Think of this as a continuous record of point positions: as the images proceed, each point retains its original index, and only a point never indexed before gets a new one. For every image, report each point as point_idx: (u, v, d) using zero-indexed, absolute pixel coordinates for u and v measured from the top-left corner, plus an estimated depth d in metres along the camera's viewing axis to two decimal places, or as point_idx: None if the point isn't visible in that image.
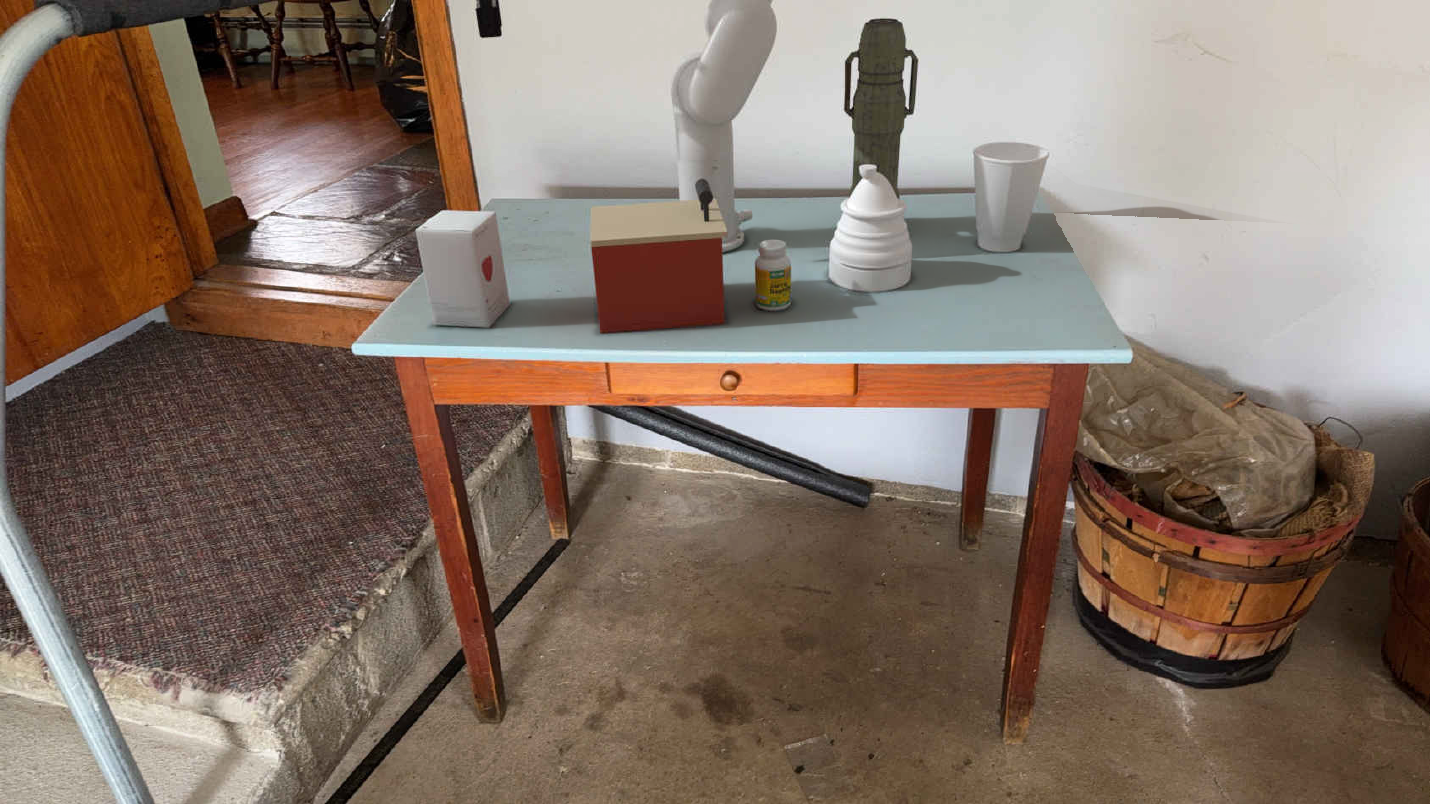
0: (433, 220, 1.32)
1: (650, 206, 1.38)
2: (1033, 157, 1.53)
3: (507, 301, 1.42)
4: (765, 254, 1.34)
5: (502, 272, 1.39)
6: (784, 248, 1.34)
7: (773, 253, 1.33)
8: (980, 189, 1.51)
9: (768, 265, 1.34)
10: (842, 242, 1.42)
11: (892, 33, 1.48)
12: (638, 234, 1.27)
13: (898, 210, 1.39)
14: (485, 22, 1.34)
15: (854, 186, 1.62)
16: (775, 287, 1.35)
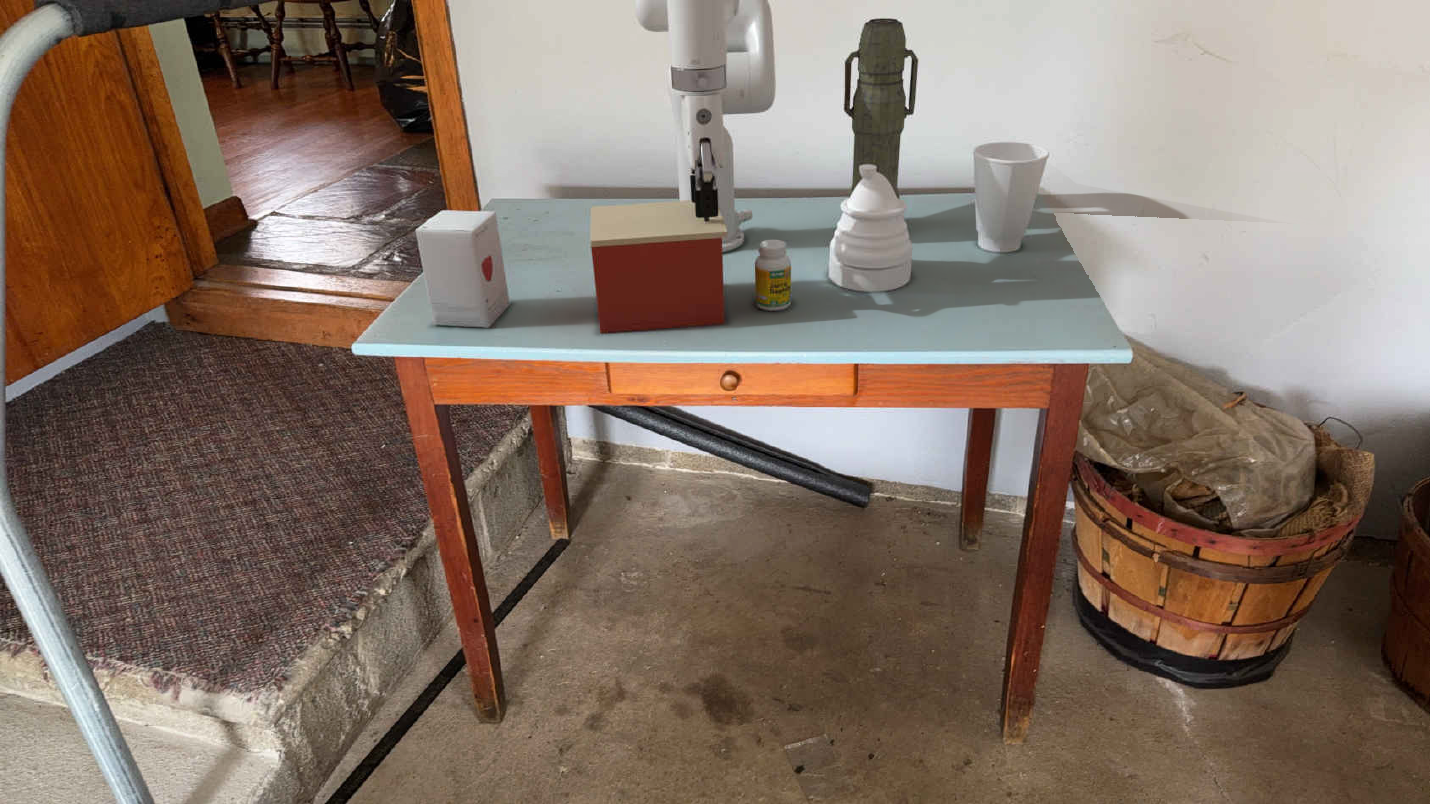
0: (433, 220, 1.32)
1: (650, 206, 1.38)
2: (1033, 157, 1.53)
3: (507, 301, 1.42)
4: (765, 254, 1.34)
5: (502, 272, 1.39)
6: (784, 248, 1.34)
7: (773, 253, 1.33)
8: (980, 189, 1.51)
9: (768, 265, 1.34)
10: (842, 242, 1.42)
11: (892, 33, 1.48)
12: (638, 234, 1.27)
13: (898, 210, 1.39)
14: (704, 204, 1.28)
15: (854, 186, 1.62)
16: (775, 287, 1.35)
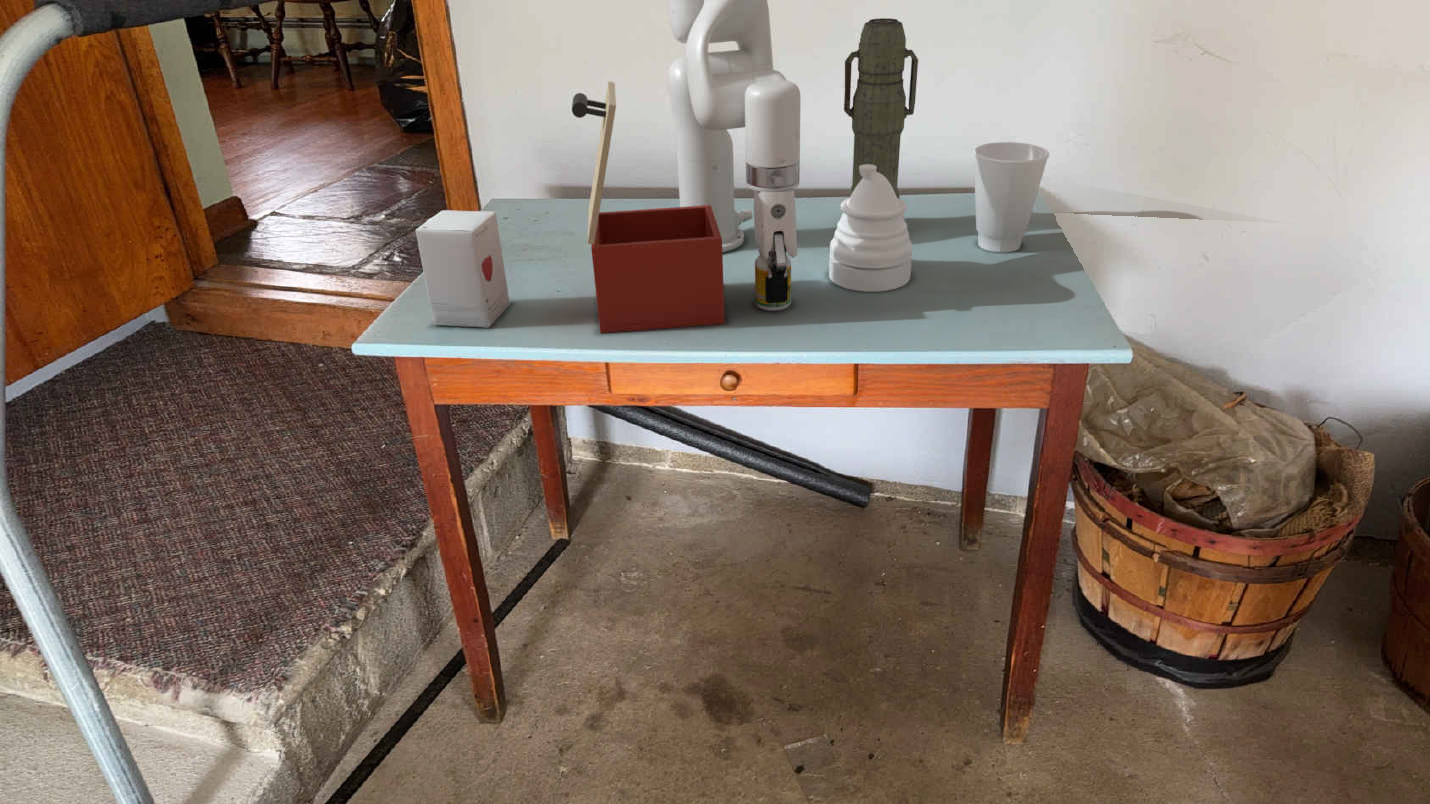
0: (433, 220, 1.32)
1: (597, 154, 1.33)
2: (1033, 157, 1.53)
3: (508, 301, 1.42)
4: None
5: (502, 272, 1.39)
6: None
7: (773, 253, 1.33)
8: (980, 189, 1.51)
9: None
10: (842, 242, 1.42)
11: (892, 33, 1.48)
12: (594, 194, 1.24)
13: (898, 210, 1.39)
14: (774, 291, 1.34)
15: (854, 186, 1.62)
16: None
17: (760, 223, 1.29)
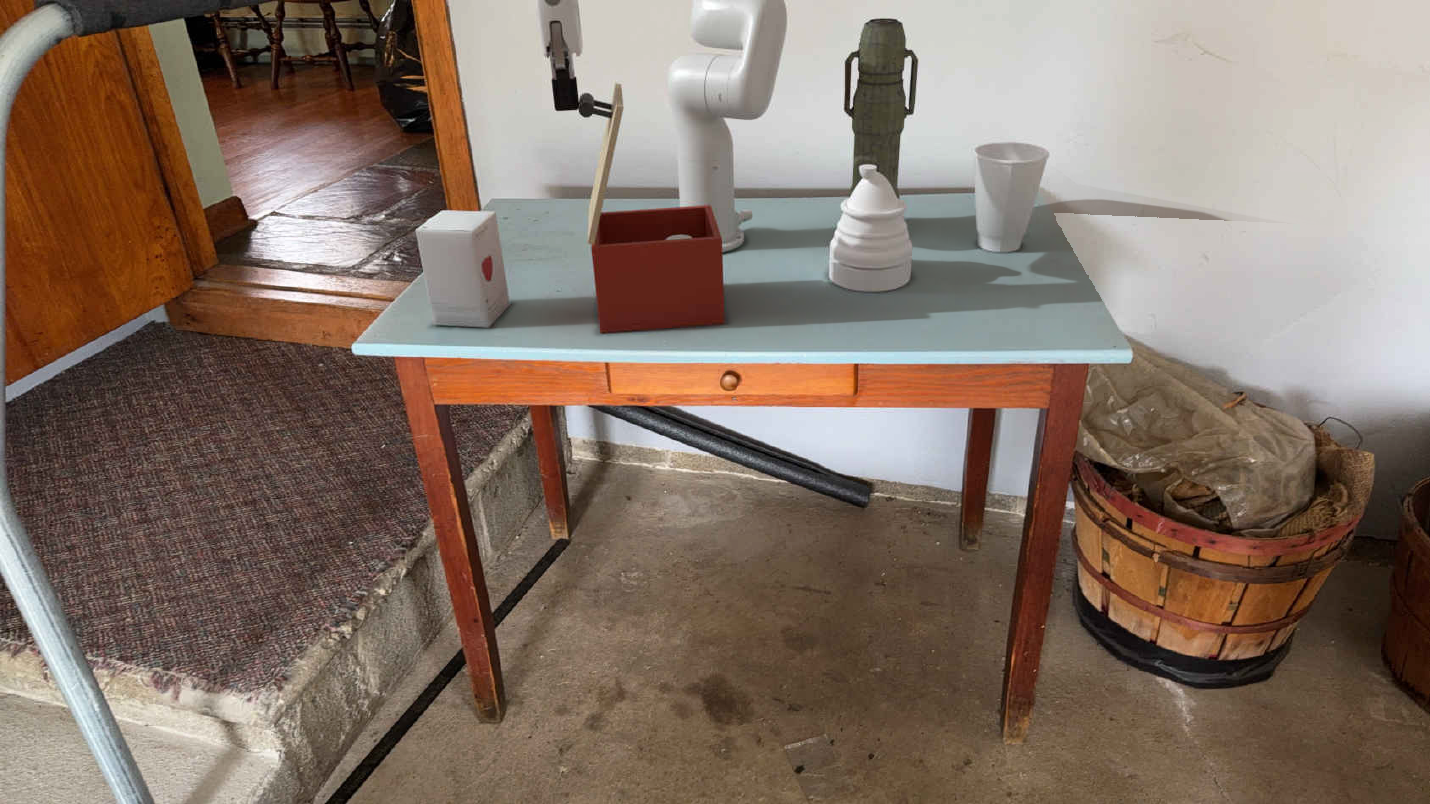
0: (433, 220, 1.32)
1: (600, 155, 1.33)
2: (1033, 157, 1.53)
3: (508, 301, 1.42)
4: None
5: (502, 272, 1.39)
6: None
7: None
8: (980, 189, 1.51)
9: None
10: (842, 242, 1.42)
11: (892, 33, 1.48)
12: (597, 194, 1.24)
13: (898, 210, 1.39)
14: (561, 95, 1.22)
15: (854, 186, 1.62)
16: None
17: (536, 14, 1.15)
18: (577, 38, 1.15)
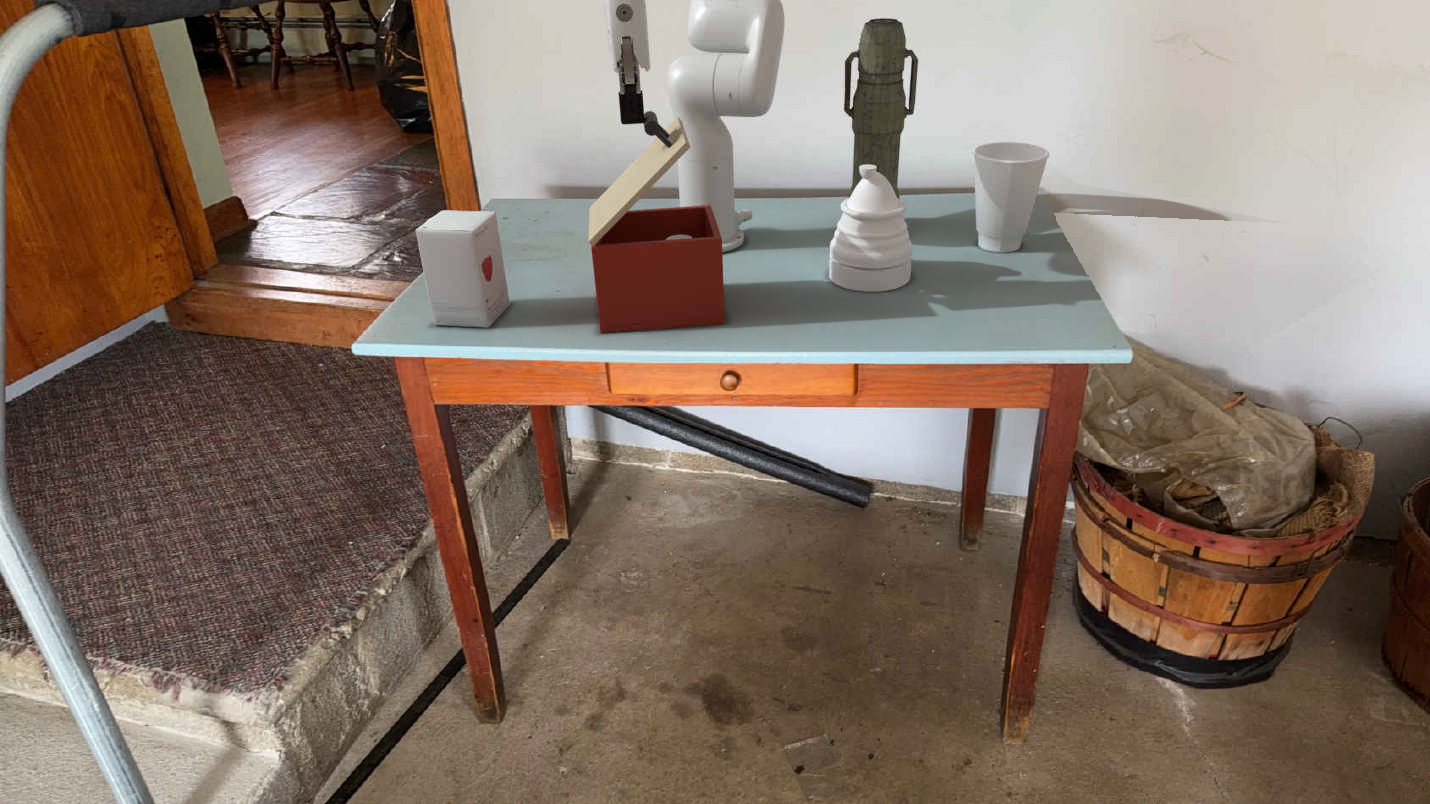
0: (433, 220, 1.32)
1: (630, 169, 1.35)
2: (1033, 157, 1.53)
3: (508, 301, 1.42)
4: None
5: (502, 272, 1.39)
6: None
7: None
8: (980, 189, 1.51)
9: None
10: (842, 242, 1.42)
11: (892, 33, 1.48)
12: (621, 205, 1.25)
13: (898, 210, 1.39)
14: (628, 109, 1.23)
15: (854, 186, 1.62)
16: None
17: (607, 29, 1.17)
18: (647, 53, 1.17)
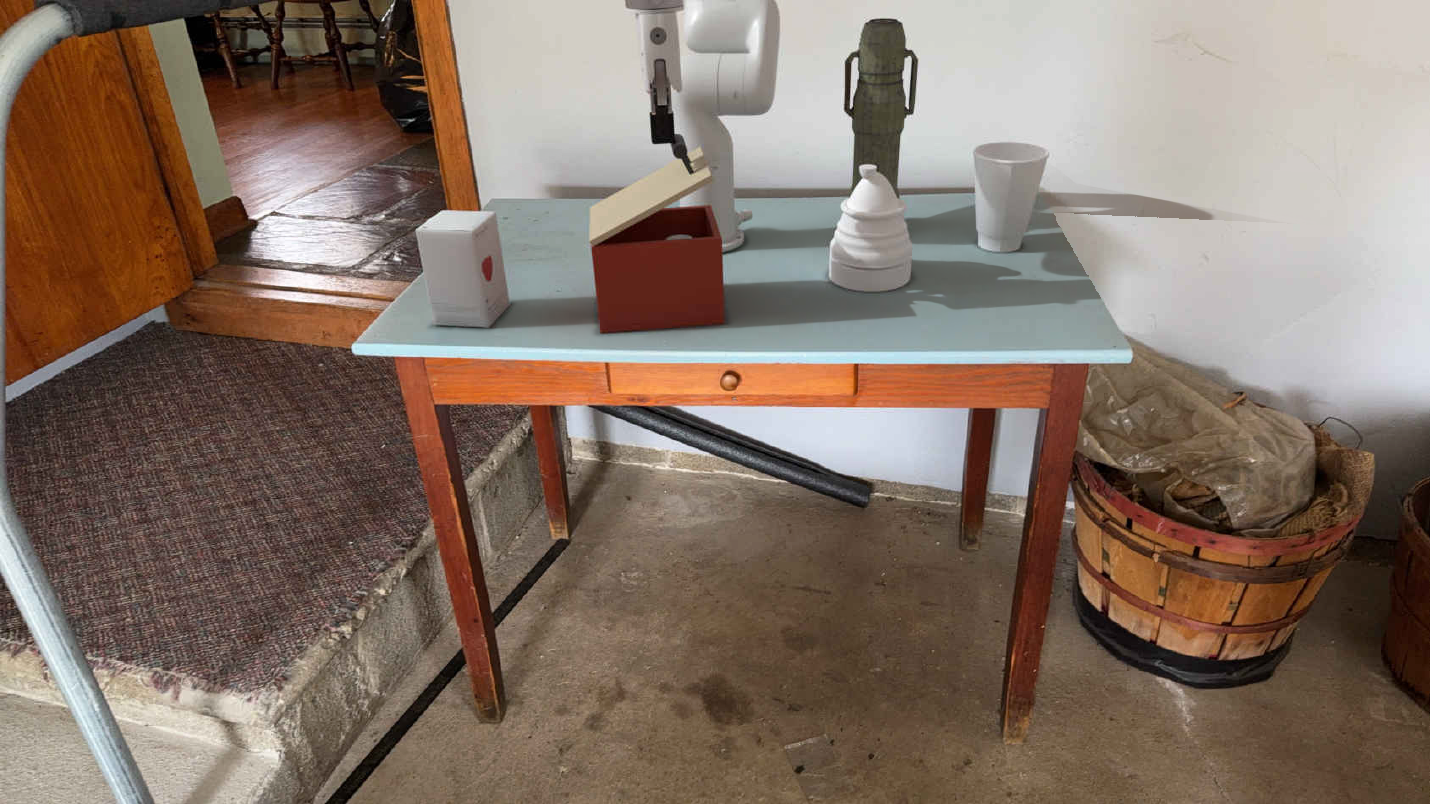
0: (433, 220, 1.32)
1: (641, 182, 1.36)
2: (1033, 157, 1.53)
3: (508, 301, 1.42)
4: None
5: (502, 272, 1.39)
6: None
7: None
8: (980, 189, 1.51)
9: None
10: (842, 242, 1.42)
11: (892, 33, 1.48)
12: (630, 215, 1.26)
13: (898, 210, 1.39)
14: (659, 129, 1.25)
15: (854, 186, 1.62)
16: None
17: (640, 52, 1.18)
18: (680, 75, 1.19)
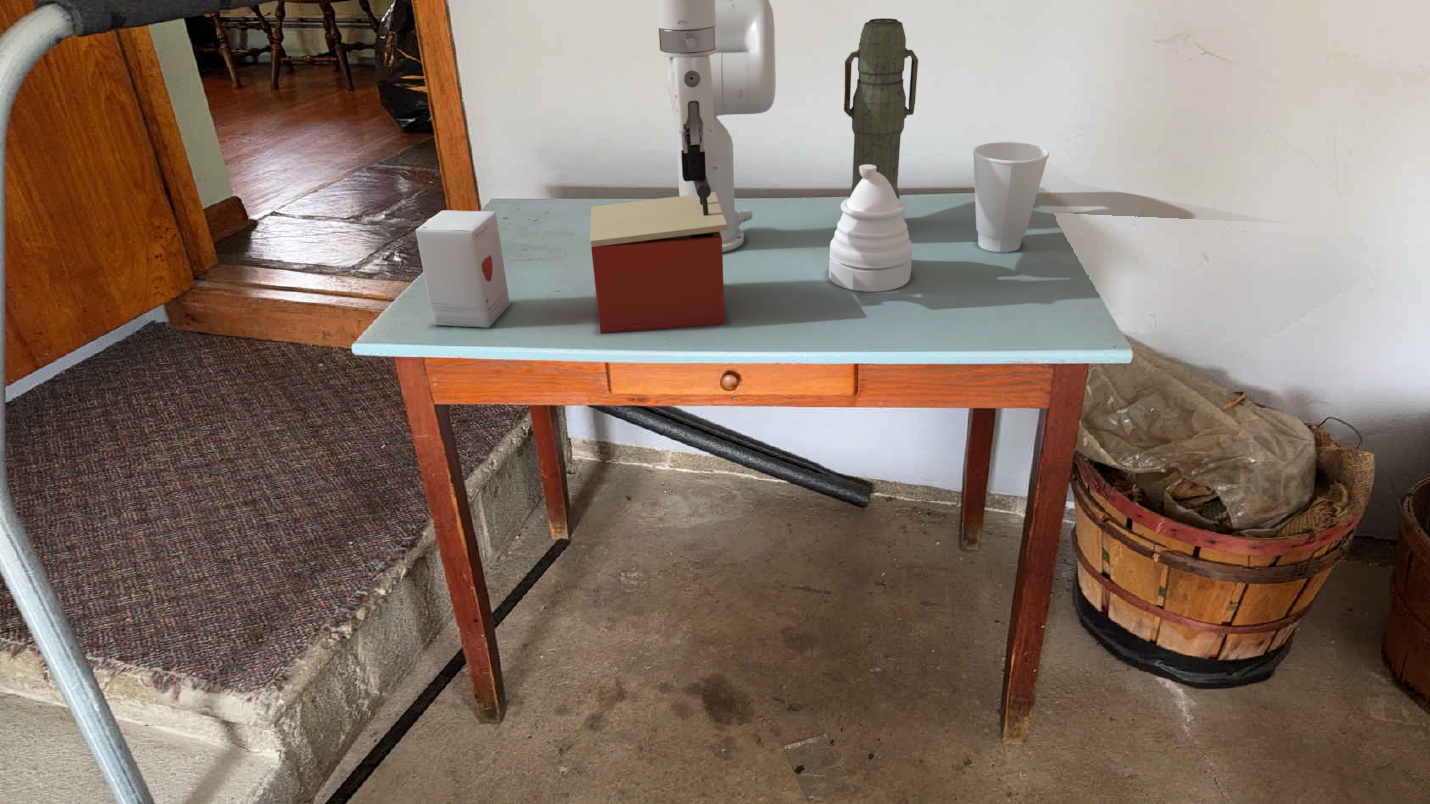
0: (433, 220, 1.32)
1: (650, 203, 1.38)
2: (1033, 157, 1.53)
3: (508, 301, 1.42)
4: None
5: (502, 272, 1.39)
6: None
7: None
8: (980, 189, 1.51)
9: None
10: (842, 242, 1.42)
11: (892, 33, 1.48)
12: (638, 232, 1.27)
13: (898, 210, 1.39)
14: (691, 167, 1.28)
15: (854, 186, 1.62)
16: None
17: (674, 94, 1.21)
18: (713, 116, 1.22)
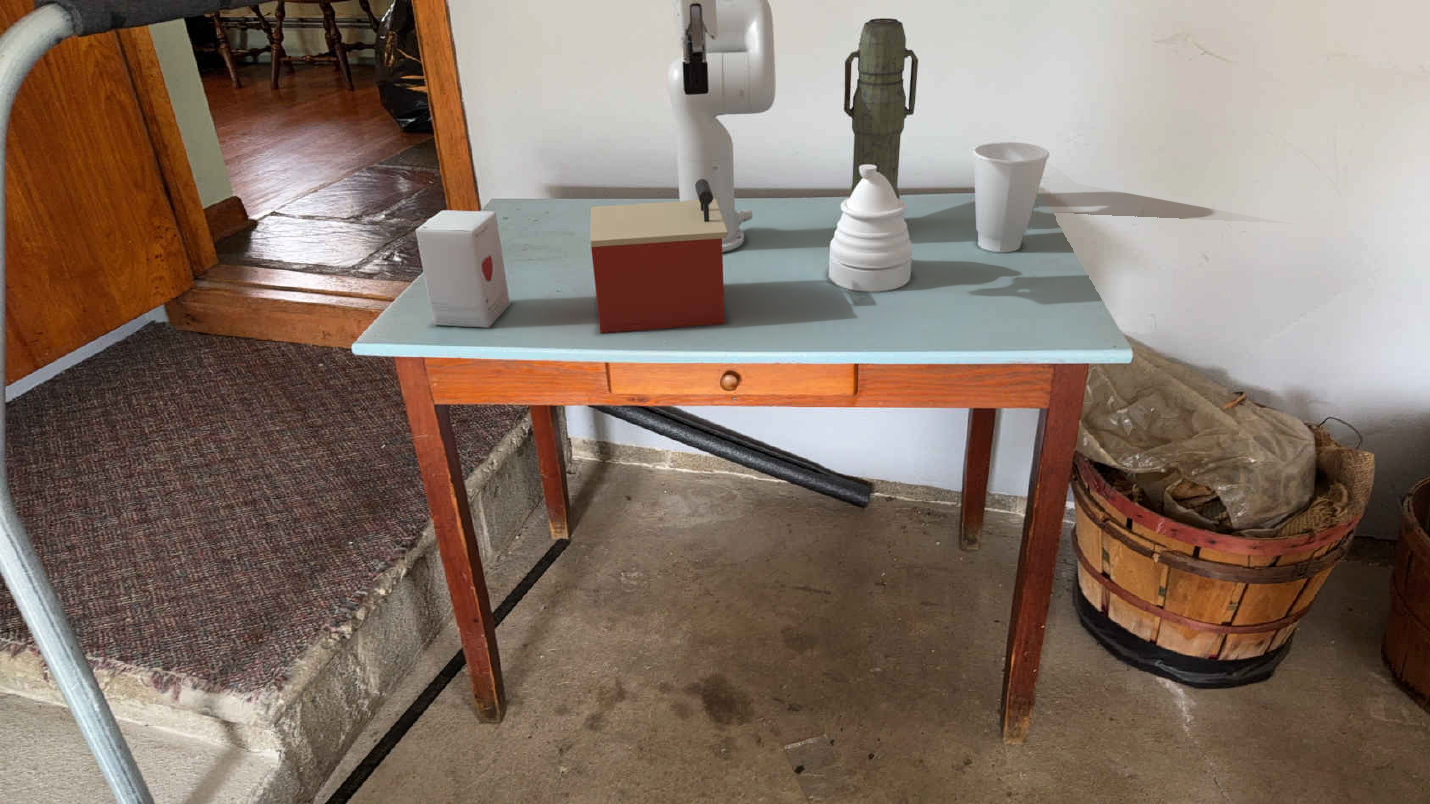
0: (433, 220, 1.32)
1: (650, 206, 1.38)
2: (1033, 157, 1.53)
3: (508, 301, 1.42)
4: None
5: (502, 272, 1.39)
6: None
7: None
8: (980, 189, 1.51)
9: None
10: (842, 242, 1.42)
11: (892, 33, 1.48)
12: (638, 234, 1.27)
13: (898, 210, 1.39)
14: (693, 79, 1.22)
15: (854, 186, 1.62)
16: None
17: None
18: (716, 21, 1.16)
